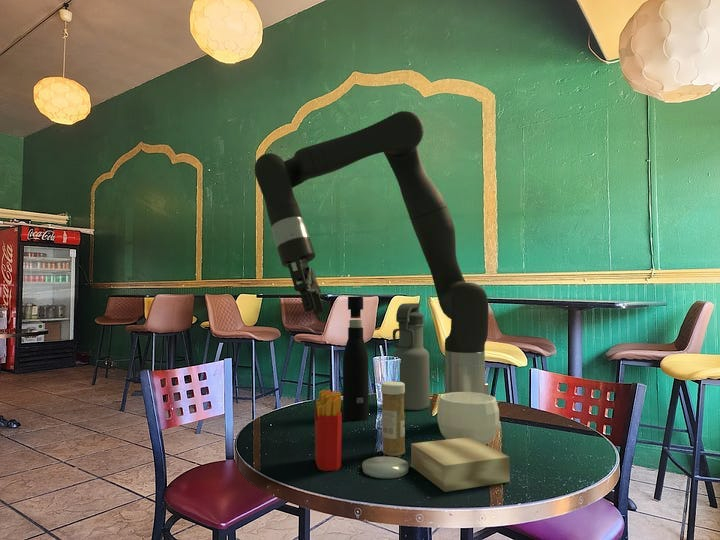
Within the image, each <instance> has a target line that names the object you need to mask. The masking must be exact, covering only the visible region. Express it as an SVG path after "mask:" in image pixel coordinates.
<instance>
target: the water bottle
mask: <svg viewBox="0 0 720 540" xmlns="http://www.w3.org/2000/svg"><path fill="white" fill-rule="evenodd" d="M420 306H421V303H419V302H417V303H416V302H413V303H411V302H410V303H406V302H405V303H400V304H399V306H398V308H397V311H396V316H395V319H396V320H395V321H396V323H398V325H397V326H398V328H394V329H393V330H392V345H393V347H394V348H396V349H395V350H394V352H393V357H398V358H400V359H401V363H400V382H403V383H404V384H405V393H404V411H422V410H425V409H427V408H429V407H430V404H431V403H430V402H431V401H430V399H431V397H430V395H431V394H430V393H431V392H430V390H431V389H430V353H429V351H428V350H427V349H425V348H424V326H425V325H424V323H425V322H424V321H425V320H424V318H425V314H423V313H422V312H421V313H420V309H419V308H420ZM397 332H398V338H399V339H398V342H399V343H398V344H397V341H396V340H397V338H396V337H397ZM393 357H392V358H393Z"/></svg>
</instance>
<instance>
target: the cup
mask: <svg viewBox="0 0 720 540" xmlns="http://www.w3.org/2000/svg"><path fill="white" fill-rule="evenodd" d="M436 412H437V413H436V414H437V416H436V417H437V424H438V428H439V431H440V433H441V435H442V436H443V438H444V440H447V439H456V438H464V437H471V438H473V439H475V440H477V441H479V442H481V443H483V444H485V445H488V444H490V443H492V441H493V440H494V438H495V437H497V433H498V430H499V426H500V409H499V405H498V403H497V399H496V397H495V396H492V395H490V394H489V395H487V394H482V393H473V392H452V393H446V394H445V393H442V394H440V395H439V400H438V403H437V409H436Z"/></svg>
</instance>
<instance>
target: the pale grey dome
mask: <svg viewBox="0 0 720 540" xmlns="http://www.w3.org/2000/svg"><path fill="white" fill-rule="evenodd" d="M361 469H363V470H362V472H363V474H365V475H366V474H367V475H366V476H368V475H369V477H373V478H376V479H396V478H401V477H403V476H405V475H407V474H409V473H408V472H409V463H408V461H406V460H404V459H402V458H399V457H397V456H374V457H371V458H367V459H365V460H363V461H362V468H361Z"/></svg>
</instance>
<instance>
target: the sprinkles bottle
mask: <svg viewBox="0 0 720 540" xmlns="http://www.w3.org/2000/svg"><path fill="white" fill-rule="evenodd" d="M380 387H381V389H380V390H381V395H382V396H381V397H382V398H381V399H382V401H381V434H382V436H381V437H382V449H381V452H382V454H384V455H385V456H388V457H399V456H402V455H404V454H405V453H406V449H405V448H406V446H405V442H406V441H405V435H406V431H405V430H406V427H405V410H404V393H405V384H404V383H403V382H397V381H394V380H393V381H392V380H390V381H384V382H382V383H381V386H380Z"/></svg>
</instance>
